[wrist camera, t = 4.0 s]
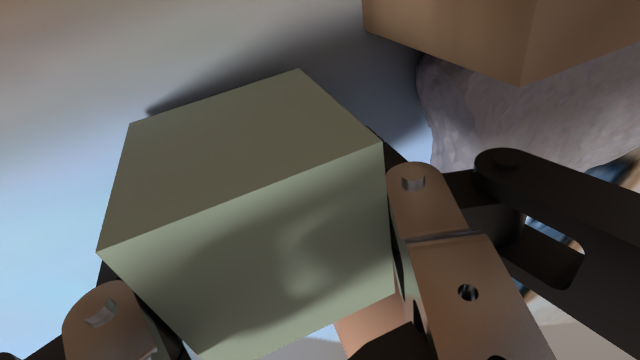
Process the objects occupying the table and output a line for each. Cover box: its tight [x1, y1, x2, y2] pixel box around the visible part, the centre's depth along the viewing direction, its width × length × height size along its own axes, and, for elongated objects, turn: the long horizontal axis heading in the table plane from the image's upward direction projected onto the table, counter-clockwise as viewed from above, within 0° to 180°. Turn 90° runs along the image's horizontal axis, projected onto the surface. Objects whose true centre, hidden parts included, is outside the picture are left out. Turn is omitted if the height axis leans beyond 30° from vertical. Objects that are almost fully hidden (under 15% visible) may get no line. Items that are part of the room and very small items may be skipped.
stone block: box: [416, 42, 640, 173], centre depth 14 cm, size 12×5×10 cm
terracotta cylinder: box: [333, 265, 406, 359], centre depth 14 cm, size 4×4×6 cm
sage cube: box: [95, 68, 395, 360], centre depth 9 cm, size 5×5×5 cm
